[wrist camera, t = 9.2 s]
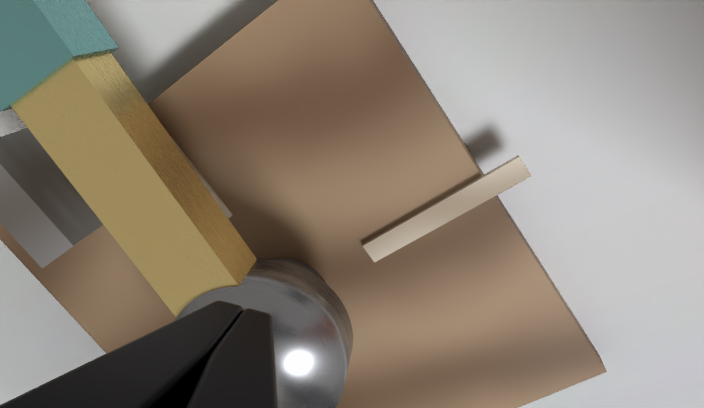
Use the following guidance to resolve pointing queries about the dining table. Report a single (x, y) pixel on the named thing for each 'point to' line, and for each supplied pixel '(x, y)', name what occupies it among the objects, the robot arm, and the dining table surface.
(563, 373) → the base
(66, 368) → the dining table surface
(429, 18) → the dining table surface
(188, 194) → the metal scoop
